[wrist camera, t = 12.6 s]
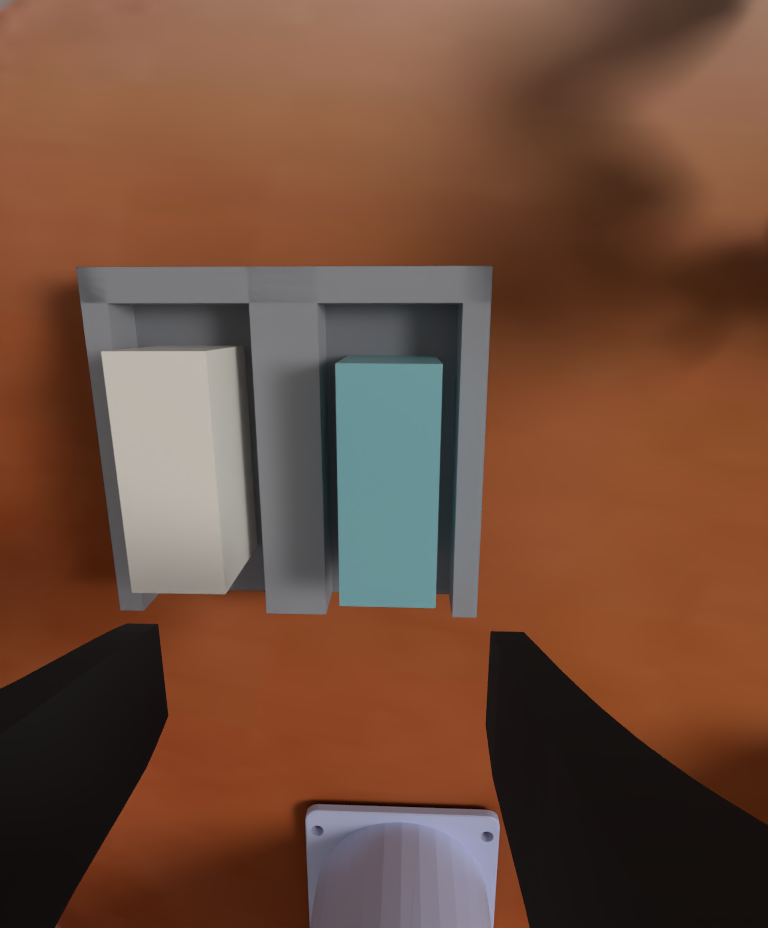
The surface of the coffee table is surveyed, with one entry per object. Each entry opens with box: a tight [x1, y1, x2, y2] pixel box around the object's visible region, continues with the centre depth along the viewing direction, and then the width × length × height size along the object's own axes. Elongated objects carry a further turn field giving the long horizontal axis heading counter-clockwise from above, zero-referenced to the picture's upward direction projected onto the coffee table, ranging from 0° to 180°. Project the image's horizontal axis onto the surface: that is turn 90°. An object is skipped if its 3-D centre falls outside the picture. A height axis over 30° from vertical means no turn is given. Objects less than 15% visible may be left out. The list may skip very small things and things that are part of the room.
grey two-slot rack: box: [76, 266, 493, 618], centre depth 18 cm, size 11×12×2 cm
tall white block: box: [101, 345, 257, 594], centre depth 17 cm, size 7×3×4 cm, turn 0°
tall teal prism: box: [335, 355, 443, 608], centre depth 17 cm, size 7×3×4 cm, turn 0°
